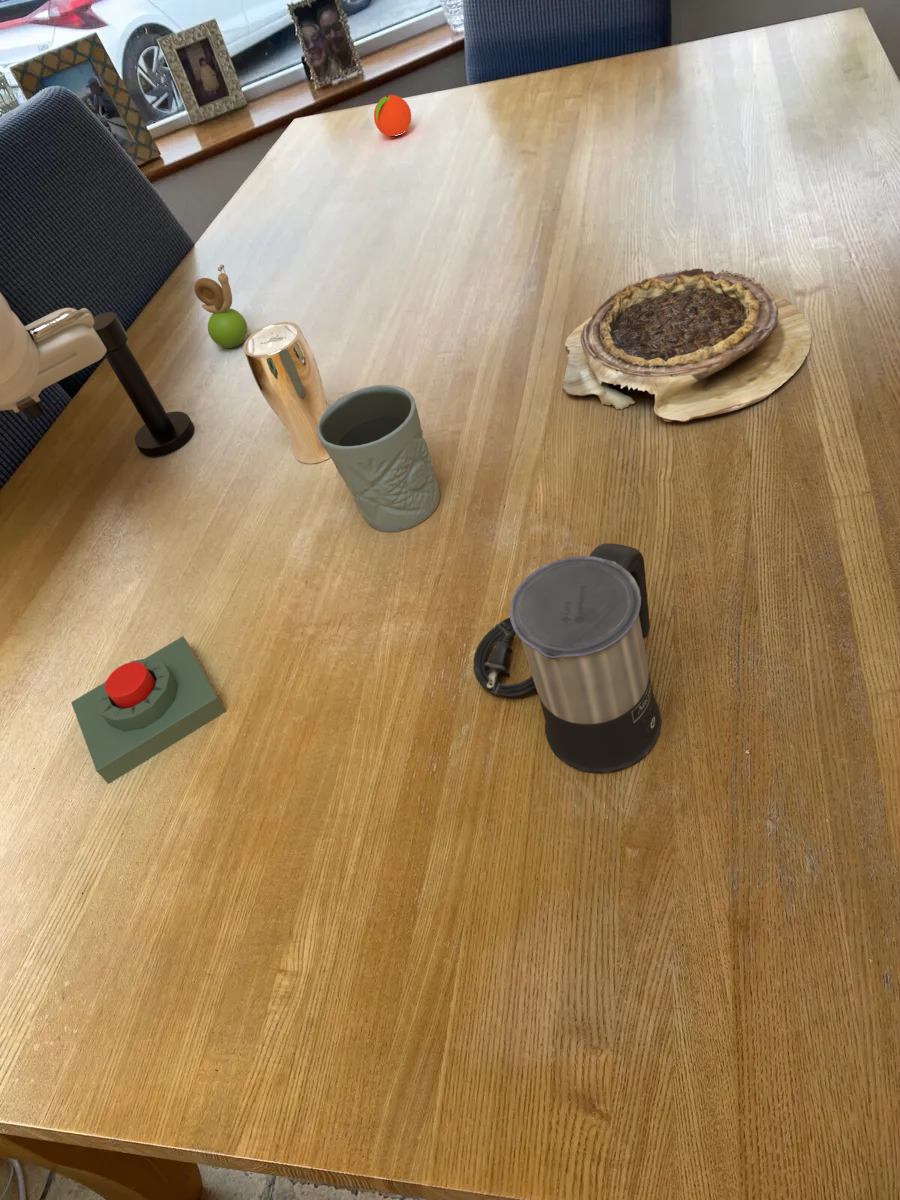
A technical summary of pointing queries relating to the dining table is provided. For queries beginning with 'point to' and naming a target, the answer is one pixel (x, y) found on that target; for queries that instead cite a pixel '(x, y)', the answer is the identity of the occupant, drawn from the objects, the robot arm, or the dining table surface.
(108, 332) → the spout
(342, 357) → the dining table surface
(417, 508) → the embossed green cup
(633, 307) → the pie
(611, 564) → the milk frother
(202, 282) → the snail figurine
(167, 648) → the control block
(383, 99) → the clementine
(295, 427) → the beer glass
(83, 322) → the robot arm
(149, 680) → the button
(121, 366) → the base
